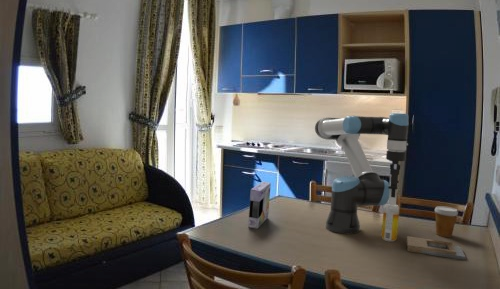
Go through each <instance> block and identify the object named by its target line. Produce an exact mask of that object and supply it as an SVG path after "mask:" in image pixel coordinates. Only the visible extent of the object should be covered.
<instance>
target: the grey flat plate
mask: <svg viewBox="0 0 500 289" xmlns="http://www.w3.org/2000/svg"><path fill="white" fill-rule="evenodd" d="M427 245H428V246H429V247H435V248H442V249H448V248H447V246H441V245H435V244H428V243H427ZM453 246H454V249H455V251H456V255H450V254H443V253H437V252H431V251H424V250H422V253H421V254H425V255H431V256H438V257H443V258H451V259H456V260H457V259H458V260H463V261H466V255H465V253H464V250H463V249H462V247H461V246H456V245H453Z"/></svg>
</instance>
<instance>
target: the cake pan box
mask: <svg viewBox="0 0 500 289" xmlns="http://www.w3.org/2000/svg"><path fill="white" fill-rule="evenodd" d="M271 183H272V182H271ZM271 183H270V182H268V181H267V182H266V181H261V182H260V183H259V184H256V185H255V186H254V187H252V188H251V189H250V193H249V194H250V196H249V208H248V210H249V211H248V225H247V226H248V228H251V229H256V230H257V229H259V227H260V226H262V225H263V224H264V222H265V221H267V219H268V218H269V210H270V207H269V206H270V197H271V185H272V184H271Z"/></svg>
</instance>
